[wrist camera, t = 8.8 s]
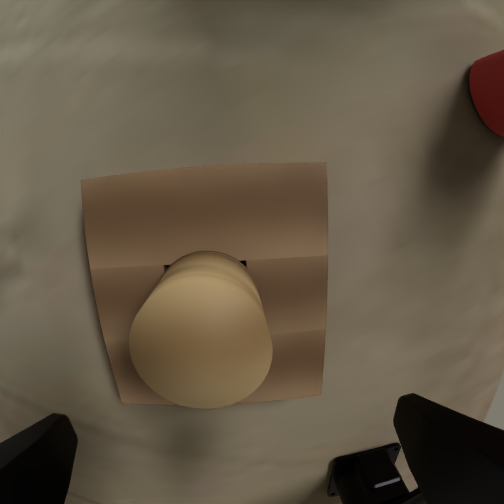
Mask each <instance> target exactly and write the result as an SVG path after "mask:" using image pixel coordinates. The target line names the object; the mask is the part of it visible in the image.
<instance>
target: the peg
mask: <svg viewBox="0 0 504 504" xmlns="http://www.w3.org/2000/svg"><path fill="white" fill-rule="evenodd" d="M129 350H130V355H131V359H132V362H133V364H134V366H135V369H136V371H137V372H138V374H139V375H140V377H141V378H142V379H143V381H144V382H145V383H146V384H147V385H148V386H149V387H150V388H151V389H152V390H153V391H155V392H156V393H157V394H159V395H160V396H162V397H163V398H165V399H167V400H169V401H171V402H173V403H176V404H179V405H182V406H186V407H190V408H197V409H213V408H220V407H225V406H228V405H232V404H234V403H236V402H239V401H241V400H243V399H244V398H246V397H247V396H249V395H250V394H251V393H253V392H254V391H255V390H256V389H257V388H258V387H259V386H260V385H261V383H262V382H263V381H264V379H265V377H266V375H267V374H268V371H269V369H270V366H271V361H272V353H273V348H272V340H271V337H270V333H269V329H268V325H267V322H266V318H265V314H264V311H263V307H262V303H261V298H260V292H259V288H258V285H257V283H256V280H255V278H254V277H253V275H252V273H251V272H250V271H249V270H248V268H247V267H246V266H245V265H243V264H242V263H241V262H240V261H238V260H237V259H235V258H233V257H232V256H229V255H227V254H225V253H221V252H216V251H197V252H193V253H189V254H187V255H184V256H182V257H181V258H179V259H177V260H176V261H175V262H173V263H172V264H171V265H170V266H169V267H168V268H167V270H166V271H165V272H164V274H163V275H162V277H161V279H160V281H159V283H158V284H157V286H156V287H155V288H154V290H153V291H152V293H151V294H150V296H149V297H148V299H147V300H146V302H145V303H144V305H143V306H142V308H141V309H140V311H139V312H138V314H137V315H136V317H135V319H134V321H133V323H132V326H131V330H130V335H129Z"/></svg>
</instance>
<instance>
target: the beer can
mask: <svg viewBox="0 0 504 504" xmlns="http://www.w3.org/2000/svg"><path fill="white" fill-rule="evenodd" d="M469 85H470V93H471V96H472V100H473V103H474V105H475V107H476V110H477V112H478V114H479V116H480V117H481V119H482V120H483V121H484V123H485V124H486V125H487V127H489V128H490V129H491V130H492V131H493V132H494V133H495V134H498V135H500V136H502V137H504V50H502V51H499V52H496V53H494V54H491V55H488V56H486V57H483V58H481V59H479V60H477V61H475V63H474V64H473V66H472V68H471V69H470V76H469Z"/></svg>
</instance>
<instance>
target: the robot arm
mask: <svg viewBox="0 0 504 504" xmlns="http://www.w3.org/2000/svg"><path fill="white" fill-rule="evenodd" d="M393 423H394V427H395V430H396V433H397V435H398V438H399V441H400V444H401V446H402V449H403V452H404V455H405V458H406V461H407V463H408V466H409V468H410V470H411V472H412V474H413V477H414V479H415V481H416V483H417V485H418V488H417V489H415V490H413V491H412V492H409V490H408V489H407V487H406V485H405V483H404V481H403V480H402V477H401V475H400V473H399V471H398V470H397V468H396V466H395V462H396V459H397V456H398V454H399V451H400V449H401V446H400V444H399V443H394V444H391V445H387V446H384V447H380V448H376V449H373V450H369V451H365V452H361V453H356V454H352V455H347V456H343V457H339V458H337V459H335V460H334V464H333V469H332V473H331V478H330V482H329V487H328V491H327V494H328V496H329V497H333V496H338V495H340V498H341V501H342V504H504V430H502V429H499V428H496V427H493V426H491V425H489V424H486V423H483V422H481V421H478V420H476V419H473V418H471V417H469V416H466V415H464V414H461V413H459V412H456V411H454V410H452V409H449V408H447V407H444V406H442V405H440V404H437V403H435V402H433V401H430V400H428V399H426V398H424V397H421V396H419V395H417V394H414V393H411V394H407V395H403V396H401V397H400V398H399V399H398V403H397V407H396V410H395V414H394V419H393ZM77 443H78V439H77V435H76V433H75V431H74V429H73V427H72V424H71V422H70V420H69V418H68V417H67V416H66V415H64V414H58V413H53V414H51V415H49V416H47V417H46V418H44V419H42V420H40V421H39V422H37V423H35V424H33V425H32V426H30V427H28V428H26V429H25V430H23V431H21V432H19V433H18V434H16V435H14V436H12V437H11V438H9V439H7V440H5V441H3V442H2V443H0V504H64V502H65V499H66V495H67V492H68V488H69V484H70V480H71V474H72V469H73V463H74V458H75V453H76V448H77Z"/></svg>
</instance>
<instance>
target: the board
mask: <svg viewBox="0 0 504 504" xmlns="http://www.w3.org/2000/svg"><path fill="white" fill-rule="evenodd" d="M81 192H82V206H83V217H84V227H85V235H86V244H87V251H88V258H89V265H90V271H91V277H92V283H93V289H94V294H95V300H96V305H97V309H98V314H99V319H100V323H101V328H102V332H103V336H104V340H105V345H106V348H107V352H108V356H109V360H110V364H111V367H112V371H113V374H114V378H115V381H116V384H117V388H118V391H119V394H120V397H121V400H122V403H131V404H152V405H179V404H176V403H173V402H171V401H169V400H167V399H165V398H163V397H162V396H160V395H159V394H157V393H156V392H155V391H153V390H152V389H151V388H150V387H149V386H148V385H147V384H146V383H145V382H144V381H143V379H142V378H141V377H140V375H139V374H138V372H137V371H136V369H135V366H134V364H133V362H132V359H131V355H130V350H129V335H130V330H131V326H132V323H133V321H134V319H135V317H136V315H137V314H138V312H139V311H140V309H141V308H142V306H143V305H144V303H145V302H146V300H147V299H148V297H149V296H150V294H151V293H152V291H153V290H154V288H155V287H156V286H157V284H158V283H159V281H160V279H161V277H162V275H163V274H164V272H165V271H166V270H167V268H168V267H169V266H170V265H171V264H172V263H173V262H175V261H176V260H177V259H179V258H181V257H182V256H184V255H187V254H189V253H193V252H197V251H216V252H221V253H225V254H227V255H229V256H232V257H233V258H235V259H237V260H238V261H243V260H244V265H245V266H246V267H247V268H248V270H249V271H250V272H251V273H252V275H253V277H254V278H255V280H256V283H257V285H258V288H259V292H260V298H261V303H262V307H263V311H264V314H265V318H266V322H267V325H268V329H269V333H270V337H271V340H272V348H273V353H272V361H271V366H270V369H269V371H268V374H267V375H266V377H265V379H264V381H263V382H262V383H261V385H260V386H259V387H258V388H257V389H256V390H255V391H254V392H253V393H251V394H250V395H249V396H247V397H246V398H244V399H243V400H241V401H239V402H236V403H252V402H264V401H275V400H284V399H293V398H301V397H309V396H316V395H321V391H322V379H323V366H324V351H325V334H326V312H327V280H328V200H327V168H326V163H259V164H235V165H218V166H202V167H189V168H177V169H166V170H156V171H147V172H138V173H129V174H121V175H114V176H106V177H99V178H92V179H86V180H81ZM236 403H234V404H236Z"/></svg>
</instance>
